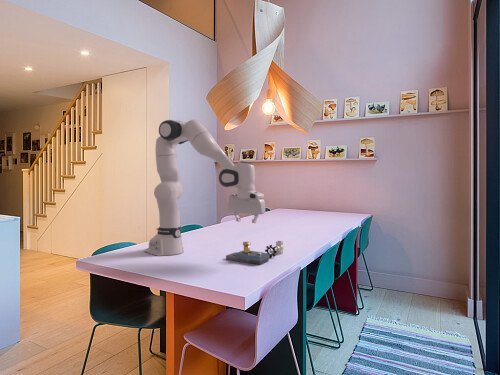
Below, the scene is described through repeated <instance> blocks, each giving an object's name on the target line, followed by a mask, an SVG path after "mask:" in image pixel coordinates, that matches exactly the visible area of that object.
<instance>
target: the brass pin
mask: <svg viewBox="0 0 500 375" xmlns="http://www.w3.org/2000/svg"><path fill="white" fill-rule="evenodd" d="M242 246H243V250H244V253H246V254H249V253H250V251H251V250H250V246H251V242H250V241H243V242H242Z"/></svg>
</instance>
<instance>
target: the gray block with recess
mask: <svg viewBox="0 0 500 375" xmlns="http://www.w3.org/2000/svg"><path fill="white" fill-rule="evenodd" d="M225 260H227V261H233V262H239V263H245V264H251V265H257V266H262V265H264V264H266V263H268V262H269V255H268V253H267V252H261V251H254V250H250V253H249V254H246V253H244V249H243V250H240V251H238V252H233V253H229V254H227V255H225Z"/></svg>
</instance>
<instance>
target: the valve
mask: <svg viewBox="0 0 500 375" xmlns="http://www.w3.org/2000/svg"><path fill="white" fill-rule="evenodd" d="M264 251H265V252H264V253H268V256H269V258H270V259H271V258H274V257H276V255H283V254H284V241H282V240H278V241H275V246H273V244H270V245H267V246H266V248H265V249H264Z"/></svg>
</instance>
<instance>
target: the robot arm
mask: <svg viewBox="0 0 500 375" xmlns="http://www.w3.org/2000/svg"><path fill="white" fill-rule="evenodd" d="M158 134H159V136H158V137H157V138H156V140H155V149H154V150H155V161H156V162H155V163H156V172H157V174H158V175H159V178H160V181H161V182H160V183H158V185H156V186H155V188H154V191H153V195H154V197H155V199H156V204H157V207H158V213H159V214H158V215H159V227H156V228H155V229H156V231H157V233H156V234H155V235H154V236H153V237H152V238H151V239H149V241H148V248H145V249H144V250H143V251H144V253H148V254H151V255H154V256H157V257H159V256H160V257H162V256H174V255H179V254H182V253H184V252H185V251H184V246H183V239H182V235H181V233H182V226H181V210H180V209H179V204H178V200H179V199H180V198H181V197H182V196H183V193H184V188H183V185H182V180H181V176H180V172H179V167H178V157H177V156H178V155H177V145H178V144H179V145H182V144H184V143H186V142H189V143H190V144H191V146H192V148H193V149H194V150H195V151H196V152H197V153H198V154H200V155H202V156H204V157H207V158H210V159H212V160H214V161H215V162H216V163H217V164H218V165H219V167H221V169H222V170H221V171H220V172H219V175H218V181H219V183H220V185H221V186H223V187H225V188H237V189H236V192H237V193H231V194H230V195H229V196H228V203H227V204H228V207H227V210H228V212H230V213H233V215H234V217H235V221H236V222H239V223H240V222H241V217H240V216H239V214H240V213H241V214H250V215H251V214H252V215H253V217H254V218H252V219H251V223H252V224H257V219H258V218H259V215H263V214H265V213H266V201H265V199H264V197H265V194H264V193H262V192H259V191H257V190H256V185H255V180H256V170H255V166H254V164H253V163H252V162H249V161H242V160H240V161H238V162H237V163H234V161H233V160H232V159H231V158H230V157H229V155H228V154H226V152H225V151H224V150H223V149H222V148H221V146H220V145H219V144H218V143H217V141H216V139H214V137H213V136H212V135H211V133H210V132H209V130H207V128H206V127H205V126H204V125H203V124H202V123H201V122H200V121H199V120H197V119H190V120H188V121H186V122H184V121H181V120H173V119H168V120H164V121H162V122H161V123H159V126H158Z"/></svg>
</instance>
